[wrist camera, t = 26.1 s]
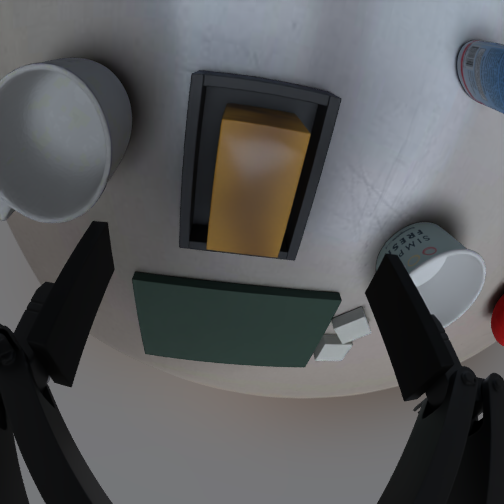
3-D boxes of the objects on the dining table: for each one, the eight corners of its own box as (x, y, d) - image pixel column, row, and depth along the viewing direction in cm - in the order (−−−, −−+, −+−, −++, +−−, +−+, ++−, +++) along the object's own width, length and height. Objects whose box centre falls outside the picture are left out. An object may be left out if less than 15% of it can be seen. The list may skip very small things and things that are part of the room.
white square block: (340, 334, 37) (342, 344, 36) (331, 318, 35) (333, 329, 34) (368, 323, 36) (371, 333, 35) (361, 306, 34) (365, 316, 33)
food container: (422, 187, 24) (459, 227, 19) (470, 244, 29) (498, 282, 23) (341, 271, 30) (357, 320, 25) (402, 307, 35) (420, 348, 29)
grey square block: (313, 351, 39) (314, 360, 38) (322, 334, 37) (325, 344, 36) (339, 351, 40) (341, 361, 39) (350, 334, 37) (353, 344, 36)
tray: (184, 226, 27) (179, 247, 24) (198, 70, 18) (191, 73, 16) (290, 239, 28) (294, 260, 25) (329, 91, 19) (341, 98, 17)
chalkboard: (146, 346, 38) (145, 354, 37) (134, 271, 30) (131, 279, 29) (303, 360, 41) (304, 367, 40) (339, 292, 32) (341, 300, 31)
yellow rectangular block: (212, 209, 25) (206, 250, 21) (227, 102, 19) (221, 118, 15) (271, 217, 25) (278, 258, 21) (295, 113, 20) (311, 133, 16)
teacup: (109, 27, 15) (50, 25, 9) (172, 138, 22) (142, 182, 15) (2, 125, 19) (-54, 160, 12) (58, 210, 25) (17, 262, 18)
